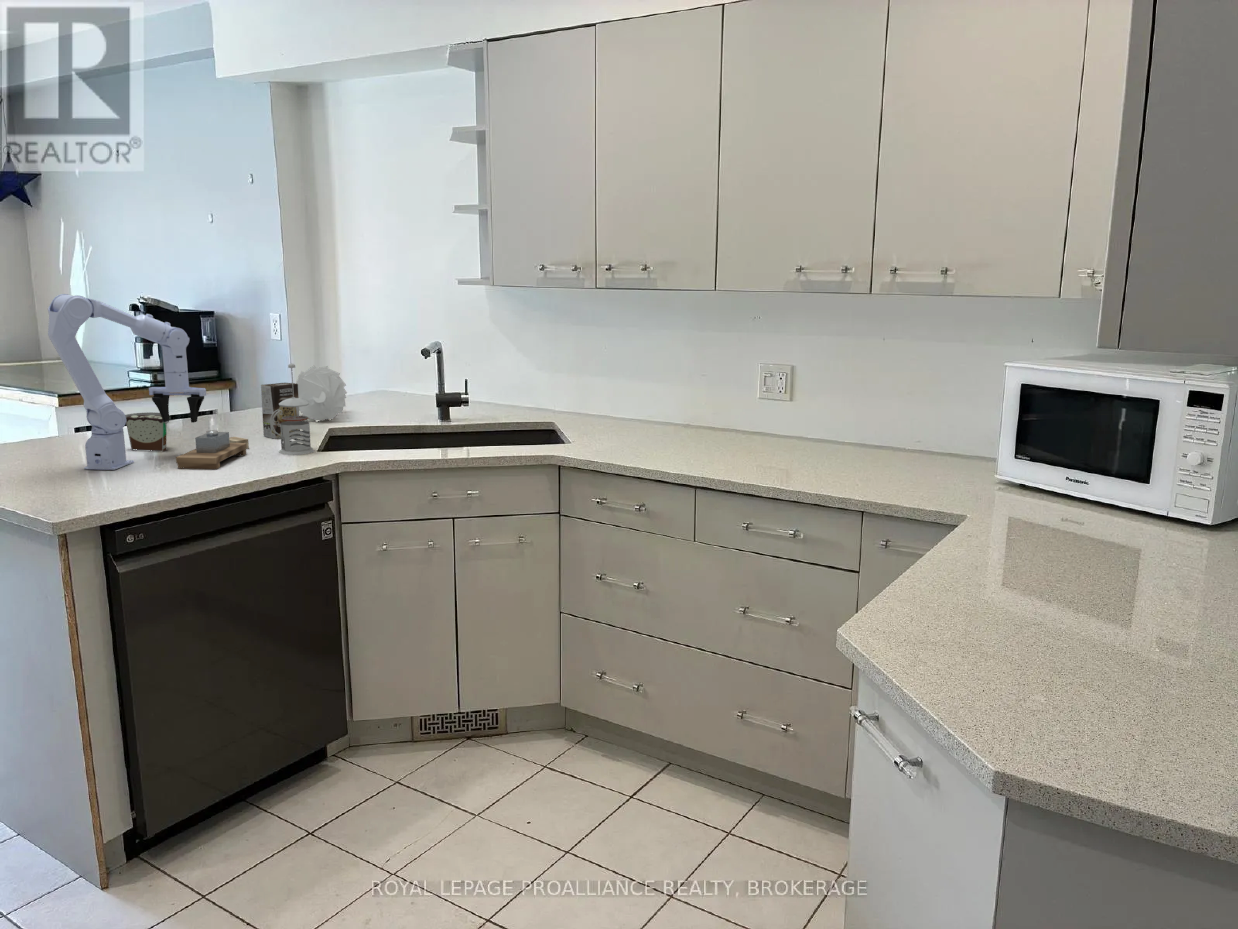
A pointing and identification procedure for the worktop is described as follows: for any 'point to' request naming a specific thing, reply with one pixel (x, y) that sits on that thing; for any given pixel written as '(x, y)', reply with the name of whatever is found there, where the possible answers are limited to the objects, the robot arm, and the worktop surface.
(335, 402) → the spiral staircase
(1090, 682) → the worktop surface
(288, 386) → the coffee box
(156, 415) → the food container
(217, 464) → the stand
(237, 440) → the beech offcut
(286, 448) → the french press
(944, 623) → the worktop surface
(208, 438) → the block
